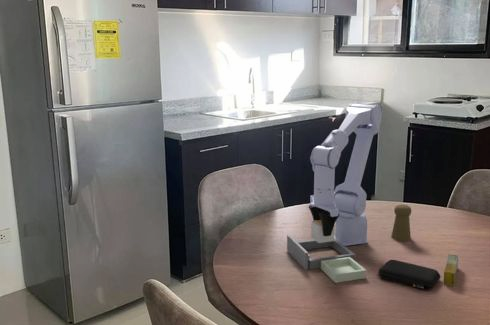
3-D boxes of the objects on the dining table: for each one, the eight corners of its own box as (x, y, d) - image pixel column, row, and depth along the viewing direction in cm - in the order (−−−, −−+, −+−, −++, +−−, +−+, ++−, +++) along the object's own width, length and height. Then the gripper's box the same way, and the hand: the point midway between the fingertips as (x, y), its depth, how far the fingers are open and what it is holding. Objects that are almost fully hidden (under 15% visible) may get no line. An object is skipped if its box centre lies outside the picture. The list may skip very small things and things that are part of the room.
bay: (349, 264, 139) (349, 256, 138) (365, 278, 130) (366, 270, 130) (320, 268, 136) (320, 260, 136) (335, 282, 128) (335, 274, 127)
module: (326, 234, 146) (327, 218, 145) (334, 240, 141) (334, 223, 140) (311, 236, 145) (311, 219, 143) (318, 243, 140) (318, 225, 139)
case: (332, 244, 153) (333, 229, 151) (355, 262, 140) (355, 246, 138) (287, 250, 148) (287, 235, 147) (305, 269, 135) (305, 253, 134)
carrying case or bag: (373, 280, 130) (430, 296, 121) (374, 270, 129) (431, 284, 121) (387, 266, 138) (441, 279, 130) (388, 256, 137) (442, 269, 129)
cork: (406, 242, 154) (409, 209, 151) (388, 238, 157) (390, 206, 155) (413, 237, 158) (415, 204, 156) (395, 233, 162) (397, 201, 159)
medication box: (447, 267, 137) (448, 253, 136) (457, 268, 136) (458, 255, 135) (443, 285, 126) (444, 271, 125) (454, 287, 125) (455, 272, 124)
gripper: (301, 182, 145) (300, 225, 148) (322, 196, 132) (321, 242, 135) (322, 180, 147) (321, 222, 150) (345, 193, 133) (344, 239, 137)
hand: (323, 232), depth 143 cm, fingers closed on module, 5 cm apart
